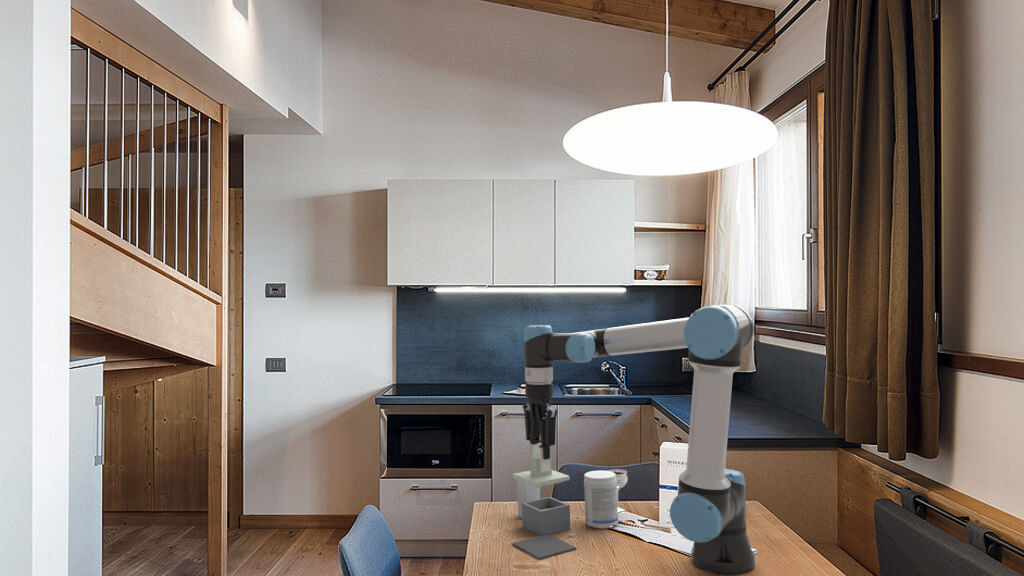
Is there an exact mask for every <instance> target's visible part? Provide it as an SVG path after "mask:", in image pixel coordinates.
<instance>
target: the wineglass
mask: <svg viewBox="0 0 1024 576" xmlns="http://www.w3.org/2000/svg"><path fill="white" fill-rule="evenodd" d="M606 471H610V472H613V473H615V474H616V481H617V500H618V501H619V490H620V489H621V488H623V487H625V486H626V484H627V483H628V479H629V478H628V475H627V473H628V470H626V469H621V468H620V469H619V468H613V469H612V468H611V469H608V470H606ZM620 511H625V512H626V509H624V508H622V507H618V512H620Z"/></svg>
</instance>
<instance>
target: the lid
mask: <svg viewBox="0 0 1024 576" xmlns="http://www.w3.org/2000/svg"><path fill="white" fill-rule="evenodd" d="M552 462H553V459H552V456H551V455H550V471H544V472H540V455H537V456H532V455H531V456H529V470H527V471H521V472H517V473H512V477H513V479H515V480H517V479H518V480H520V481H523V482H525V483H527V484H530V485H532V486H534V487H537V488H538V487H540V488H542V487H547V486H551V485H557V484H562V483H563V482H565V481H566V482H567V481H570V480H571V478H570V477H571V476H570V475H568V474H565V473H562V472H560V471H557V470H554V469H553V468H552V467H553V465H552Z"/></svg>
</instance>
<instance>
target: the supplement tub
mask: <svg viewBox="0 0 1024 576" xmlns="http://www.w3.org/2000/svg"><path fill="white" fill-rule="evenodd" d="M583 477H584V478H583V486H584V487H583V489H584V508H585V510H584V511H585V513H584V514H585V523H586V525H588V526H589V527H590V528H594V529H603V530H604V529H609V528H608V527H610V526H614V525H616V526H617V525H618V524H619V513H618V508H619V499H618V500H617V481H616V474H615V473H613V472H610V471H607V470H591V471H587V472H586V473H584V476H583ZM614 527H615V526H614Z"/></svg>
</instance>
